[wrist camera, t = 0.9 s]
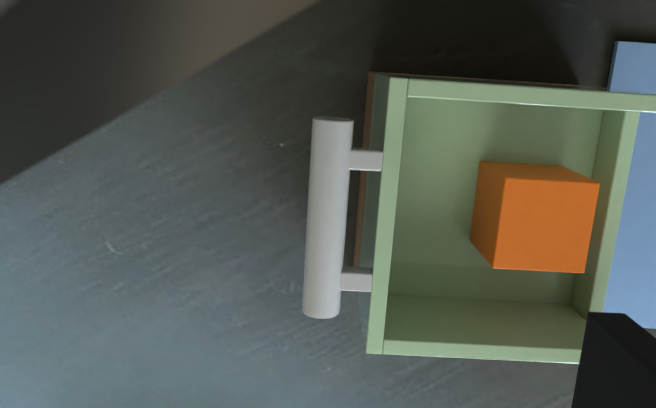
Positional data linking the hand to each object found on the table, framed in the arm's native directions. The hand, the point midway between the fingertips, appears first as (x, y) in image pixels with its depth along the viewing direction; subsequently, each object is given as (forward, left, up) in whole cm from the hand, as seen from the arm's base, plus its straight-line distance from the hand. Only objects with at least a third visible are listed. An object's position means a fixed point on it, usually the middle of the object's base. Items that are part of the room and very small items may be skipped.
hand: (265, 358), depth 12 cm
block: (-3, +10, -17) cm, 20 cm away
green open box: (-2, +8, -17) cm, 19 cm away
